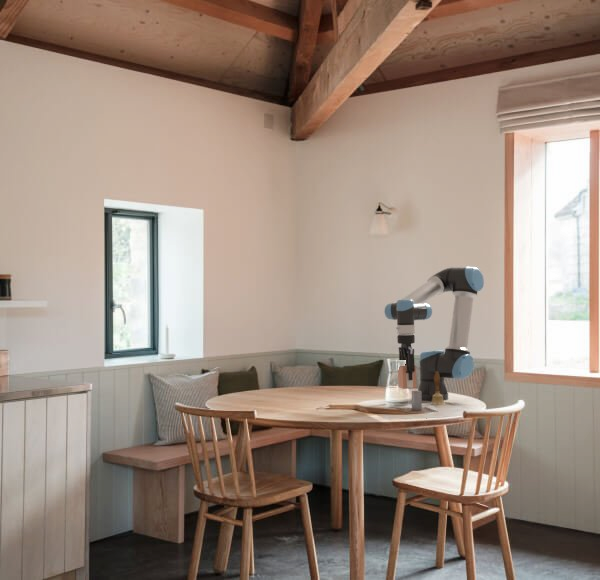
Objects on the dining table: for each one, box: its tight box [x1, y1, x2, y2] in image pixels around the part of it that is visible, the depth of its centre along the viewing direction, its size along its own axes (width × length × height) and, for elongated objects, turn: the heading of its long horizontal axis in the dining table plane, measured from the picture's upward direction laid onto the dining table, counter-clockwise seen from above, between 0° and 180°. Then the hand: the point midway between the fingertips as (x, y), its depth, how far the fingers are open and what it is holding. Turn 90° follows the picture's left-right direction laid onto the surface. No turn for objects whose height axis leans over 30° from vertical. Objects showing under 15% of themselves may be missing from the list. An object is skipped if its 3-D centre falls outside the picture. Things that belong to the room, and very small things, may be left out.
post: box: [411, 390, 423, 411], centre depth 334 cm, size 3×3×8 cm
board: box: [395, 406, 439, 414], centre depth 333 cm, size 14×14×2 cm
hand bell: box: [430, 371, 446, 406], centre depth 353 cm, size 8×8×16 cm
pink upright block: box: [397, 365, 417, 390], centre depth 349 cm, size 6×6×10 cm
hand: (407, 386), depth 349 cm, fingers closed on pink upright block, 6 cm apart
